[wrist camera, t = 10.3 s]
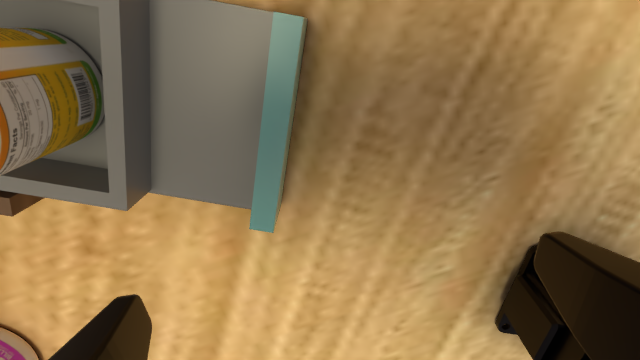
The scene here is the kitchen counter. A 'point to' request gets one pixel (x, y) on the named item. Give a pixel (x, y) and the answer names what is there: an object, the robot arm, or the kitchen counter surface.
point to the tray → (174, 103)
